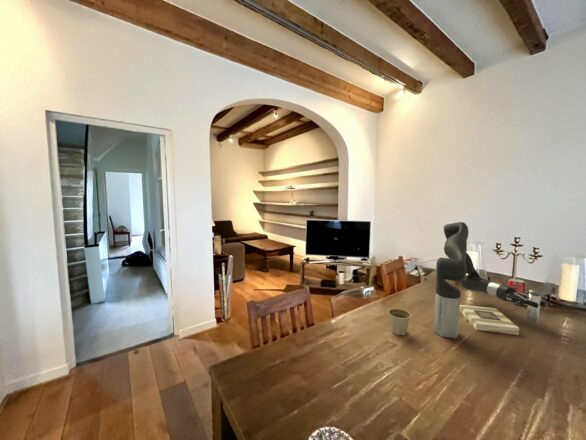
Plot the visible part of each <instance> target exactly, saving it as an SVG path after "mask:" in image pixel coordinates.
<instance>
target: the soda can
mask: <svg viewBox="0 0 586 440" xmlns="http://www.w3.org/2000/svg"><path fill="white" fill-rule="evenodd" d="M507 286H510V287H513V288H514V289H515V291H516V292H520V293H522V294H525V293H526V291H525V290H526V284H525V280H523V279H519V278H509V280H508V282H507ZM509 303H510V304H513V305H518V306H519V305H520V304H517V303H513V302H509ZM520 306H521V305H520Z"/></svg>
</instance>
